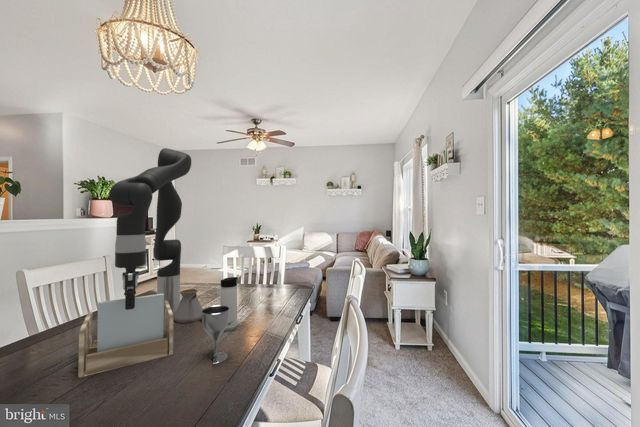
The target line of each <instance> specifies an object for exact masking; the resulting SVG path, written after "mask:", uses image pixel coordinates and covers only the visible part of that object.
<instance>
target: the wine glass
mask: <svg viewBox="0 0 640 427" xmlns="http://www.w3.org/2000/svg"><path fill="white" fill-rule="evenodd" d="M202 309H203V310H202V318H201V322H202V327H203V329H204V331H205V332H206V333H207V334H208V335H209V336H210V337H211V339H212V341H213V352H212V353H211V355H212V358H210V360H211V362H212V365H217V364H221V363H222V362H225V361H226V360H227V359H228V354H227V353H226V352H221V351H220V352H219V351H218V341H219V338H220V336H221V335H222V334H223V333H224V332H225V331H224V330H225V329H226V327H227V324H228V320H229V307H228V306H223V305H220V304H219V305H211V306H207V307H205V308H202Z"/></svg>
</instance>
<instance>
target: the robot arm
mask: <svg viewBox="0 0 640 427" xmlns="http://www.w3.org/2000/svg"><path fill="white" fill-rule="evenodd" d="M191 168H192V158H191V156H190V154H187V153H186V152H183V151H178V150H175V149H171V148H167V147H166V148H162V149H161V150H159V153H158V157H157V166H155V167H151V168H148V169H146V170H144V171H143V172H141V173H139V174H138V175H136V176H132V177H129V178H125V179H122V180H120V181H117V182H116V183H114V185H112V186H111V187H110V189H109V193H108V197H109V200H110V201H111V202H112V203H113V204H114V205H115V206H117V207H132V209H131V210H130V212H129V213H125V214H121V215H119V216H118V217H117V218H116V231H115V233H116V236H115V243H114V267H115V268H118V269H125V272H122V275H121V278H122V281H123V282H122V289H123V290H124V293H123V295H124V299H125V309H126V310H129V309H134V308H135V297H136V294H137V291H136V289H137V288H138V286H139V284H138V280H139V273H140V271H139V270H137V268H138V267H143V266H146V263H147V260H146V259H147V239H146V220H147V216H148V214H149V213H148V212H149V211H150V208H151V207H150V206H151V204H152V201H153V194H154V193H156V192H157V201H156V202H157V204H156V229H155V235H154V236H155V237H154V243H153V257H154V259H155V261H158V262H159V261H160V262H161V261H163V262H164V261H171V262H170V263H169V264H166V265H165V266H163V267H160V268H158V270H156V275H157V276H156V288H157V289H156V292H157V293H156V294H164V313H165V301H168V303H169V305H170V308H171V310H172V313H173V316H174V315H175V313H176V310H177V308H178V306H179V304H180V301H181V293H180V292H181V259H182V258H181V257H182V243H181V241H180V240H179V239H166V236H167V234H168V232H170V230H172V228H174V226H175V225H176V224H177V223H178V222H179V220H180V219H181V216H182V208H183V202H182V199H181V197H180V195H179V193H178V192H177V189H176V188H175V186H174V184H173V181H175V180H178V179H179V178H182V177H184V176H185V175H187V174H188V173H189V172H190V170H191ZM136 270H137V271H136Z"/></svg>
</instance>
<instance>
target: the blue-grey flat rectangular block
mask: <svg viewBox="0 0 640 427" xmlns="http://www.w3.org/2000/svg"><path fill="white" fill-rule="evenodd" d="M163 331H164V294H157V293H155V294H149V295H142V296H141V295H140V296H135V308H134V309H129V310H126V309H125V298H120V299H113V300H105V301H98V302H97V336H96V337H97V339H96V340H97V353H98V352H102V351H107V350H112V349H117V348H121V347H126V346H131V345H135V344H140V343H145V342H149V341H154V340H159V339H163Z"/></svg>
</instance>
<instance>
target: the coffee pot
mask: <svg viewBox="0 0 640 427" xmlns="http://www.w3.org/2000/svg"><path fill="white" fill-rule="evenodd" d="M197 293H198V289H196V288H192V289H191V288H189V289H184V290H180V296H182V297H181V298H180V304H179V306H178V308H177V310H176V313H175V314H174V315H173V321H175V322H176V323H179V324H188V323H194V322H197V321H200V320H202V310H203V309H204V308H203V307H202V305H201V303H200V301H199V298H200V296H198V294H197ZM197 296H198V297H197Z"/></svg>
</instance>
